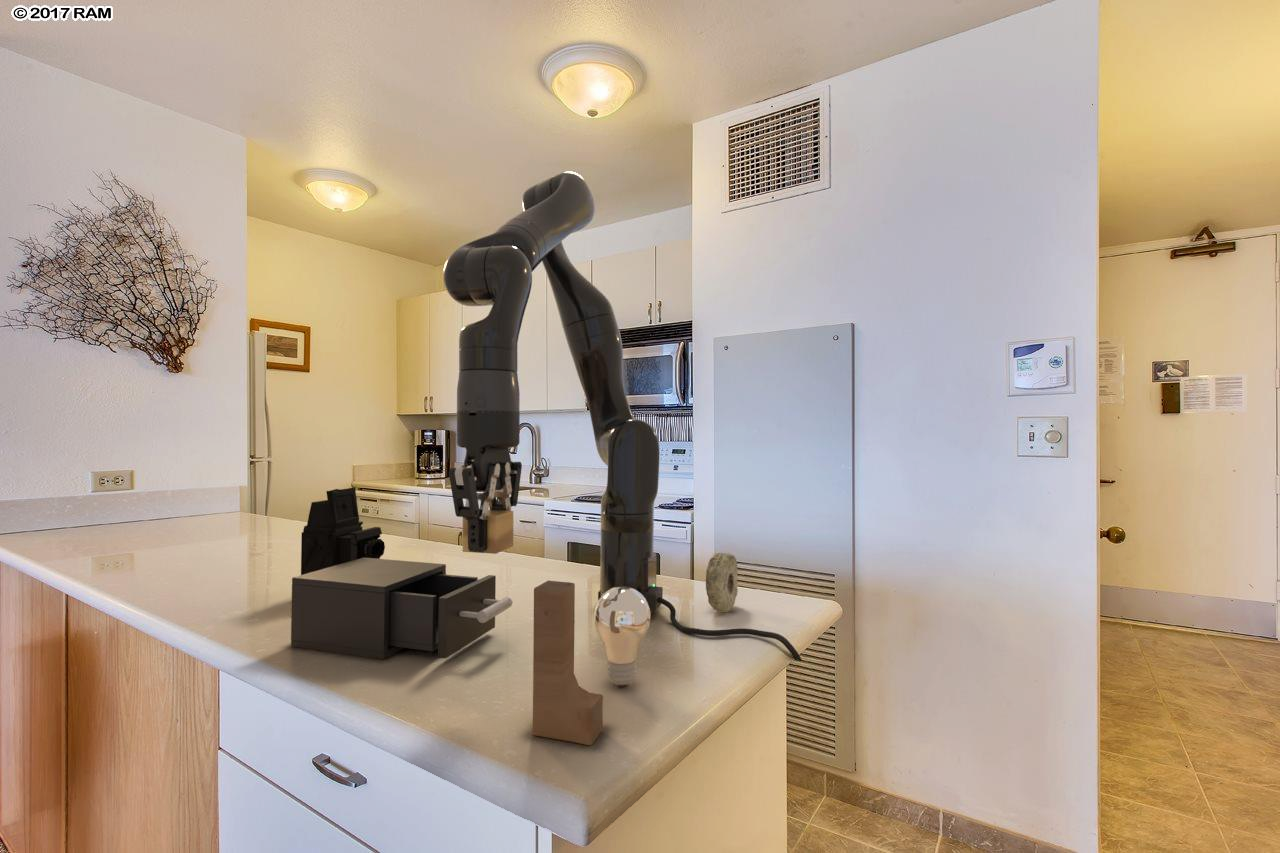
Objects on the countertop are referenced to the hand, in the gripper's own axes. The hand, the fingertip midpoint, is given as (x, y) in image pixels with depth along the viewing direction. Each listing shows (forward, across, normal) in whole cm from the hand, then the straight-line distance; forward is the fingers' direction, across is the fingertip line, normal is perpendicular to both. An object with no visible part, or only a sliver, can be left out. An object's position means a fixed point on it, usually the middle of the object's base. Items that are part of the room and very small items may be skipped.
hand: (488, 546), depth 70 cm
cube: (0, 0, 0) cm, 0 cm away
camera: (+17, -25, -43) cm, 53 cm away
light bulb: (+17, -3, +16) cm, 24 cm away
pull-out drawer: (+16, -9, -13) cm, 22 cm away
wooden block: (+17, +8, +14) cm, 23 cm away
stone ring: (+17, -36, +25) cm, 47 cm away
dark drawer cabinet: (+17, -10, -25) cm, 31 cm away
